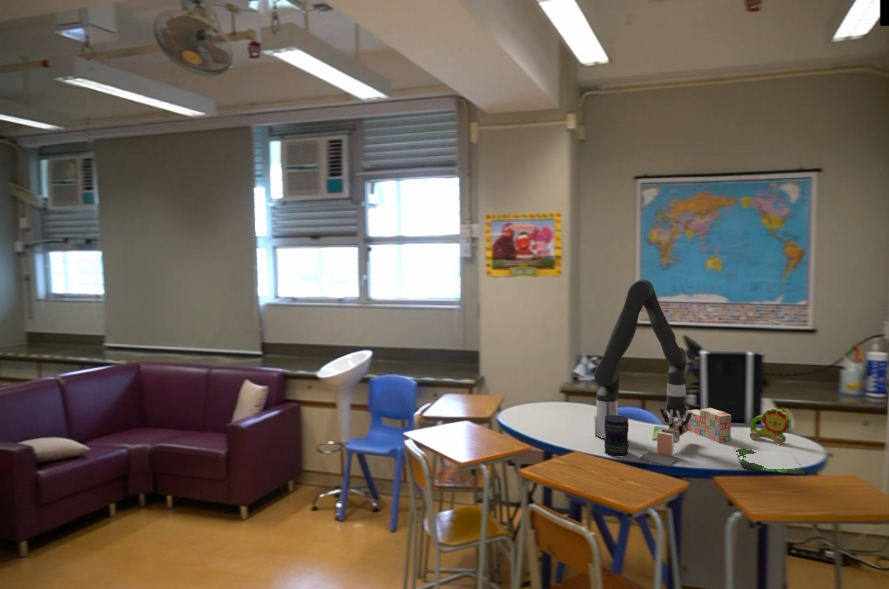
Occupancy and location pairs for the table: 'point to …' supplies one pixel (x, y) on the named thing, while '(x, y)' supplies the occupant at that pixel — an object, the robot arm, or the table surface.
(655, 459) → the mat
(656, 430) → the green number board
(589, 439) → the table surface
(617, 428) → the storage jar
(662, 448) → the tile
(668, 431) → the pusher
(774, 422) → the toy lion
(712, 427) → the stack of blocks
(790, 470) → the mouse mat
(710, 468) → the table surface
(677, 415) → the robot arm
